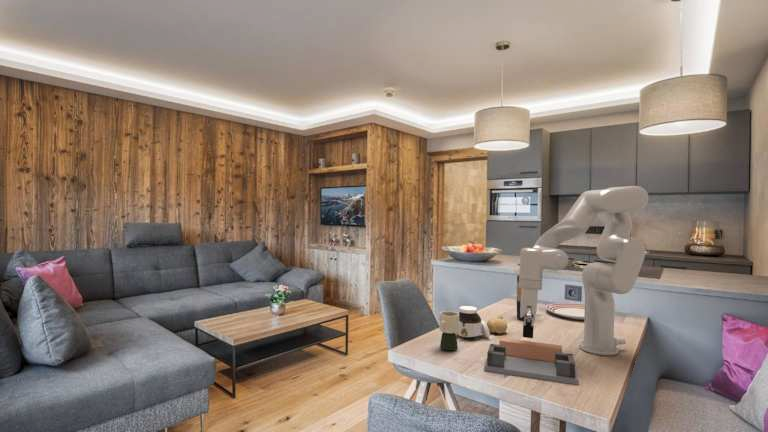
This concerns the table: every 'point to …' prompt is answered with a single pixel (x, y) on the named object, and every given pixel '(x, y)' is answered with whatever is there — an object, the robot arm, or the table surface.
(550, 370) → the board
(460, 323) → the spread jar
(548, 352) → the slat
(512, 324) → the table surface
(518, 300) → the travel mug
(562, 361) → the end caps
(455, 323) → the character mug
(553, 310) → the dinner plate
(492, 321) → the onion
